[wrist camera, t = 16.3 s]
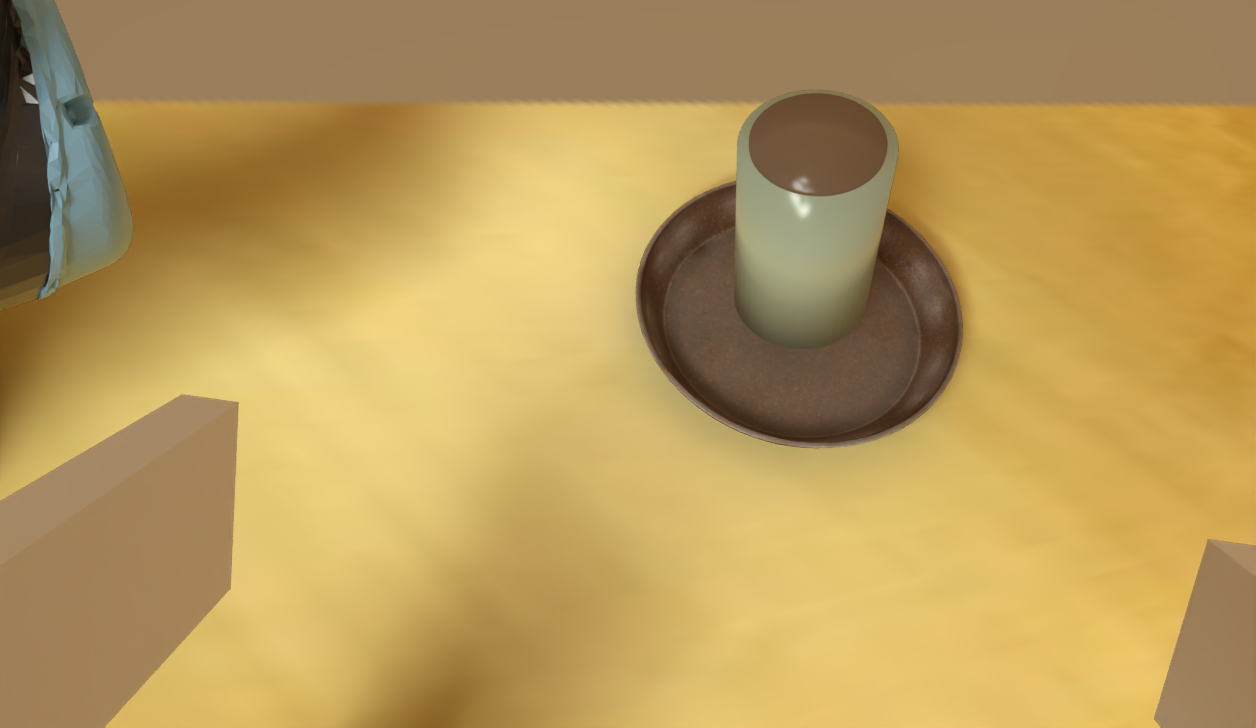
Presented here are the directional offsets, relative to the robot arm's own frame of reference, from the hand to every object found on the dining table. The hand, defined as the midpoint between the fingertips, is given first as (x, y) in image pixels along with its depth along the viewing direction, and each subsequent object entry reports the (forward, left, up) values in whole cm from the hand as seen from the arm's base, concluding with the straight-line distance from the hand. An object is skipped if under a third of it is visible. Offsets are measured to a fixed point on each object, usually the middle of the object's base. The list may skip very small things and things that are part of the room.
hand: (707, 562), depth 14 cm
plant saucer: (-15, +23, -34) cm, 44 cm away
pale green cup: (-15, +23, -31) cm, 41 cm away
